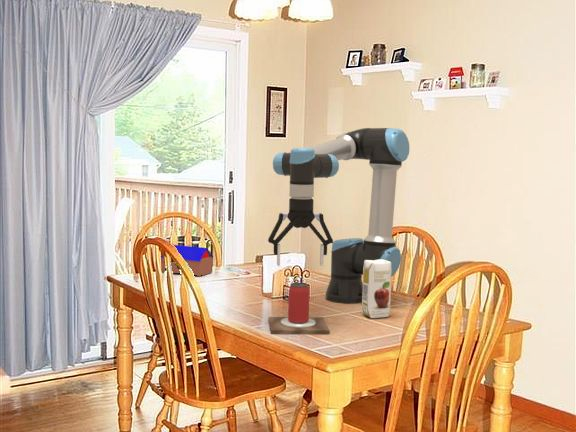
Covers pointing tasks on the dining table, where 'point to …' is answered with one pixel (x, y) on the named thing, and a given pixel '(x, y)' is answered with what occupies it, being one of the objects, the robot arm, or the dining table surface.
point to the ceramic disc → (293, 325)
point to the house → (194, 260)
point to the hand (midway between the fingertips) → (300, 265)
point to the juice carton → (376, 288)
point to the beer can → (298, 303)
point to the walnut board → (280, 329)
